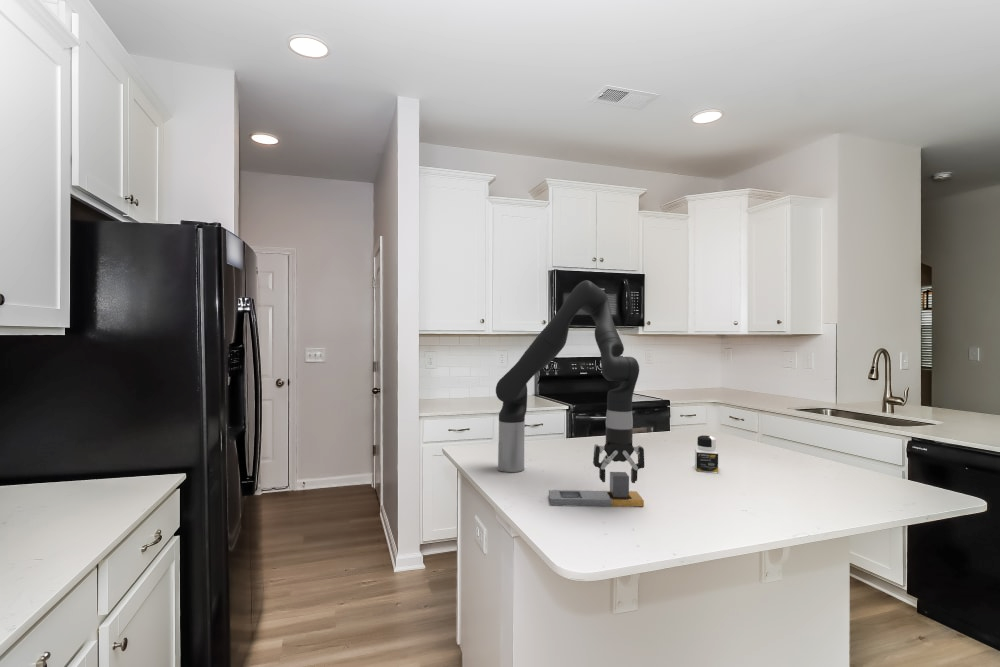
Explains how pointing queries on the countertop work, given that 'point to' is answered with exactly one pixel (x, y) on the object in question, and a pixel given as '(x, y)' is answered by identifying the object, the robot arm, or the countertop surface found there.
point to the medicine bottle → (706, 454)
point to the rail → (593, 498)
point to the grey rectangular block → (619, 485)
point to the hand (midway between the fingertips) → (618, 481)
